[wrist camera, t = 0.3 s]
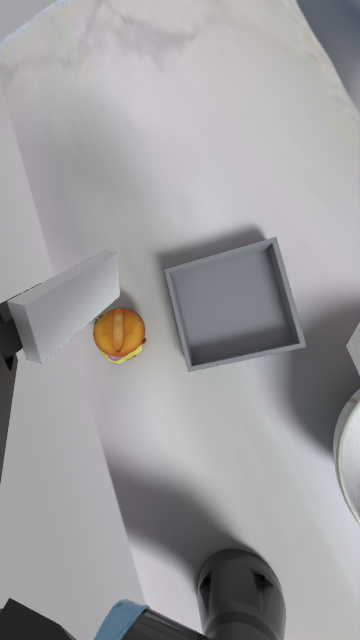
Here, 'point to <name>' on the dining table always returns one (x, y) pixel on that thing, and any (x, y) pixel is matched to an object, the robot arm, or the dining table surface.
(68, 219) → the dining table surface
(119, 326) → the cheeseburger
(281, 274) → the bin
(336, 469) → the decorative bowl
